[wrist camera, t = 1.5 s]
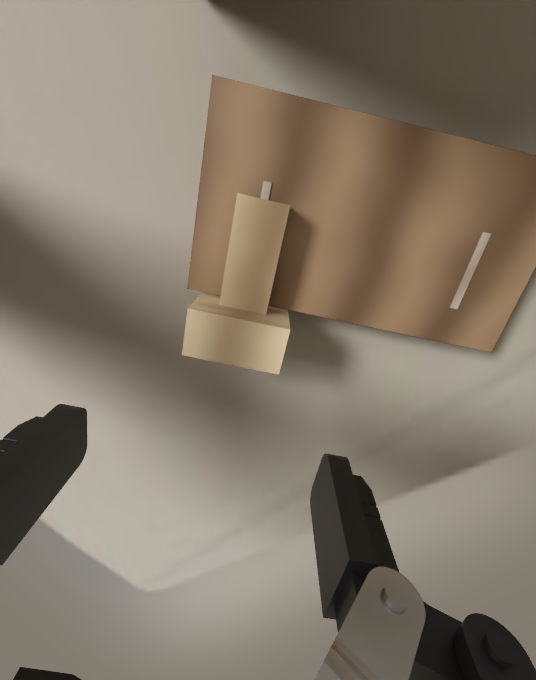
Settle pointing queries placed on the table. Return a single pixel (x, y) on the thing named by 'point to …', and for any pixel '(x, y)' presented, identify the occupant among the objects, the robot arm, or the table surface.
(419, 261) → the oak board
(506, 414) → the table surface
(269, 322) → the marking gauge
